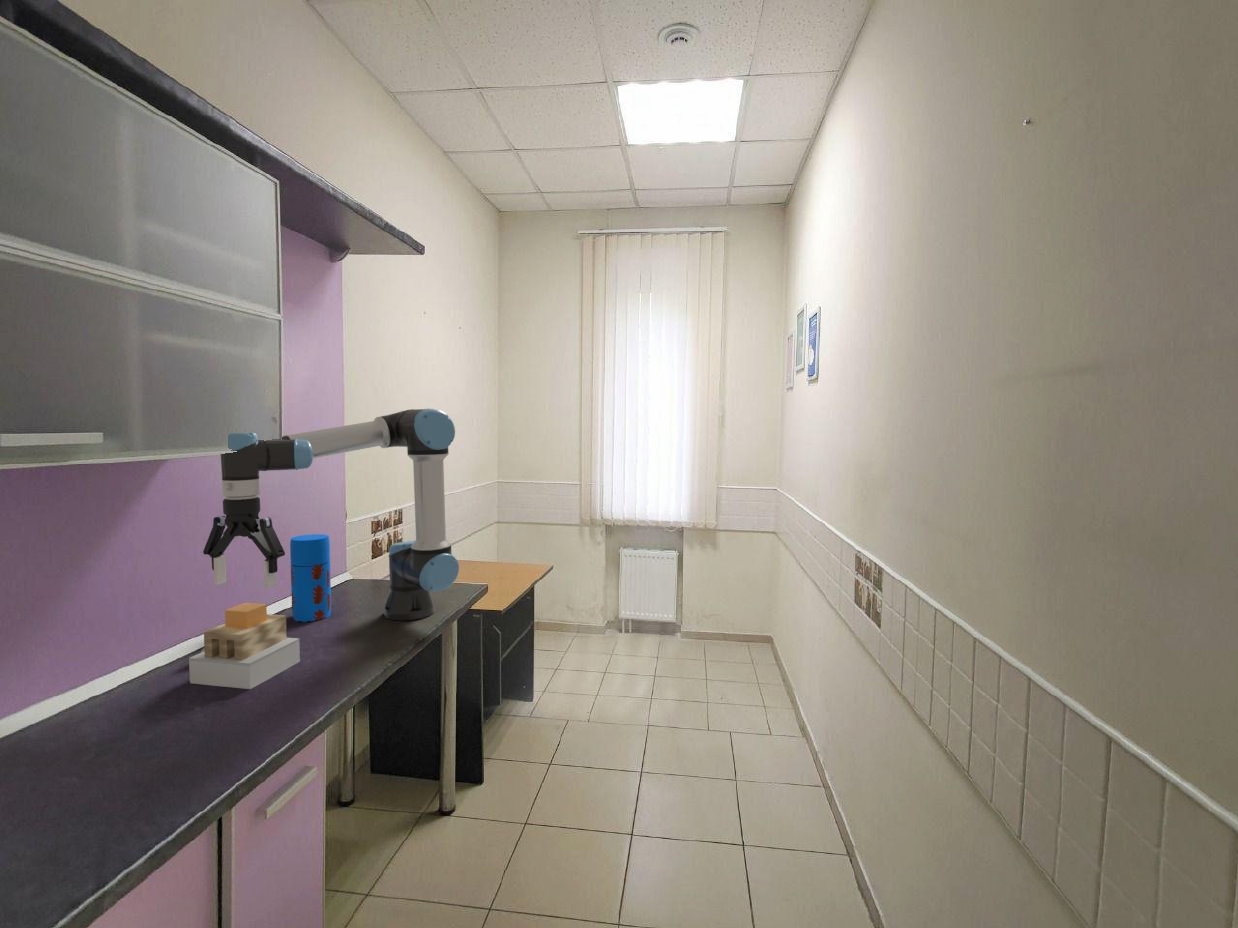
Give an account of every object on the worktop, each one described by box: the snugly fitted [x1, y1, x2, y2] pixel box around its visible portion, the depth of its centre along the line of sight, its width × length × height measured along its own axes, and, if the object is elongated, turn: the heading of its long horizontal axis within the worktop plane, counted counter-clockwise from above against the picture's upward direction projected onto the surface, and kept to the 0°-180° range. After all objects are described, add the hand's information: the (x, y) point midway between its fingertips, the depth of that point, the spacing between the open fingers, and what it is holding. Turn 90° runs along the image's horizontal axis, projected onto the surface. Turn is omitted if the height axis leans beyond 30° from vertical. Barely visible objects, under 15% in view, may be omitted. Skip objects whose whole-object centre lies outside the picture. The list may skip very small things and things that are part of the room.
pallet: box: [203, 613, 288, 660], centre depth 144 cm, size 14×10×6 cm
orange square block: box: [224, 602, 268, 629], centre depth 144 cm, size 6×6×4 cm
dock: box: [188, 637, 301, 690], centre depth 144 cm, size 16×16×6 cm
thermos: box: [289, 533, 332, 623], centre depth 185 cm, size 11×11×25 cm
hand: (245, 585), depth 143 cm, fingers open, 13 cm apart
